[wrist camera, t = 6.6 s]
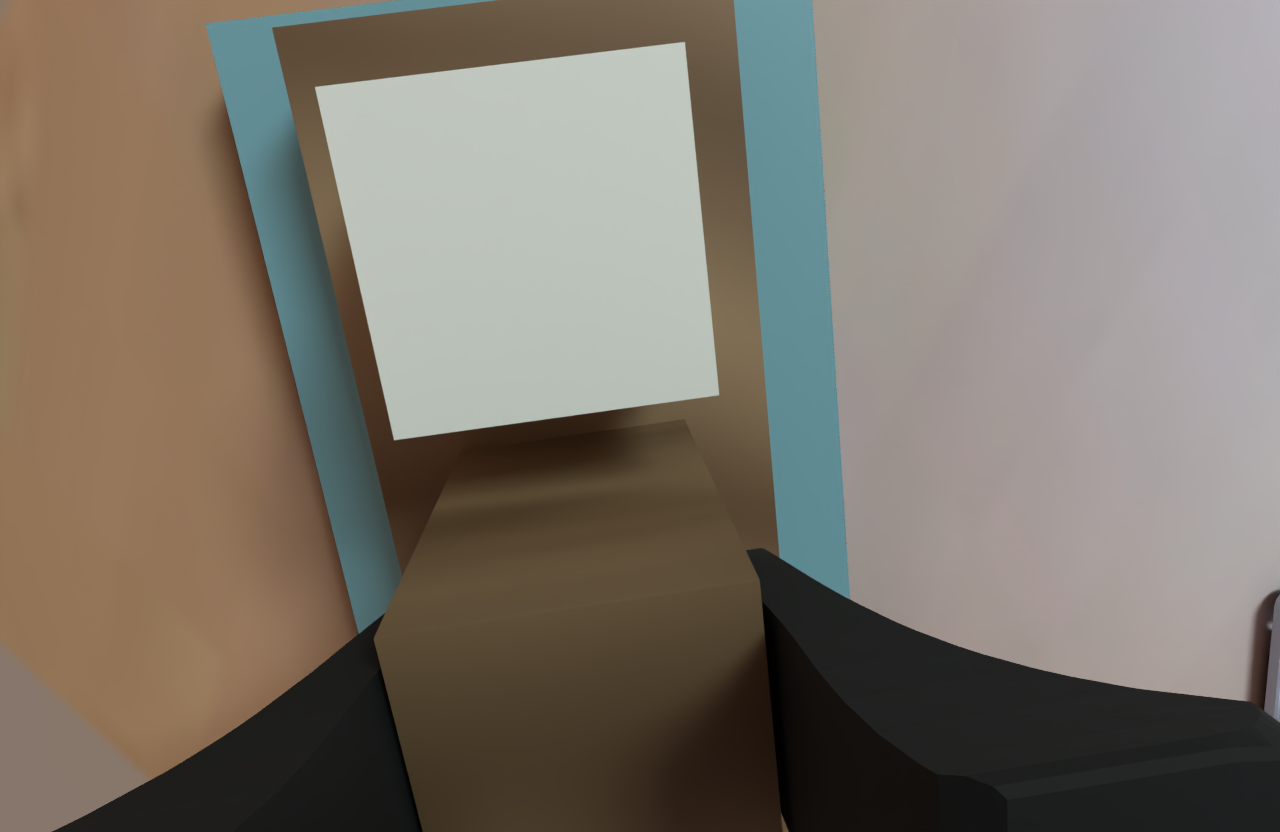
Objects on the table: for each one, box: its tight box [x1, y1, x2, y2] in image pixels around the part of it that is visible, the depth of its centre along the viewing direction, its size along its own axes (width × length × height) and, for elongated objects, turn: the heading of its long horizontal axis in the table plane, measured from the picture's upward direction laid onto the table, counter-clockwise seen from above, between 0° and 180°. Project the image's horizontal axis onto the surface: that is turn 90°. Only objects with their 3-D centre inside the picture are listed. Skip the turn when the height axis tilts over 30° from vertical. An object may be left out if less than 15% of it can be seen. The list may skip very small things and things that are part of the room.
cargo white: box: [315, 42, 719, 440], centre depth 11 cm, size 4×4×4 cm
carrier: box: [272, 0, 789, 832], centre depth 12 cm, size 18×7×8 cm, turn 7°
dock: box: [206, 0, 850, 634], centre depth 18 cm, size 20×11×2 cm, turn 7°
